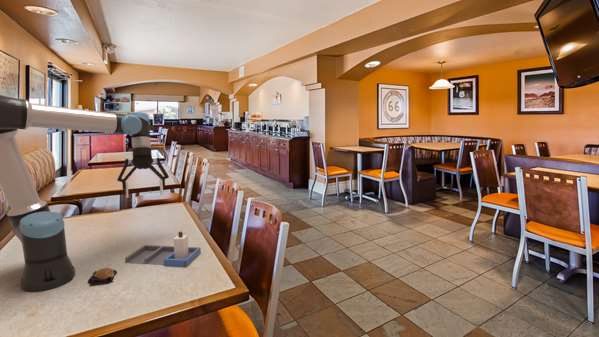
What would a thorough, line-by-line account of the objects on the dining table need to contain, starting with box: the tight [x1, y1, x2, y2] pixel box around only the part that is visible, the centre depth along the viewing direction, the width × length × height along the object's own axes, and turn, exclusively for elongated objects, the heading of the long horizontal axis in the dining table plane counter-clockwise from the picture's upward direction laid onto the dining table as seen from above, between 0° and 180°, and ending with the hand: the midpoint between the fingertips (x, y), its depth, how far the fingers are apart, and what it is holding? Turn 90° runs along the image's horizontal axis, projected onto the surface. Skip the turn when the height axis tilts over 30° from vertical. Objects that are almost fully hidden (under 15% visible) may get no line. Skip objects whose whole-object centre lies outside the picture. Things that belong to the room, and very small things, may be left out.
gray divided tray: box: [124, 244, 202, 268], centre depth 132 cm, size 14×25×3 cm, turn 83°
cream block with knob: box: [173, 231, 189, 259], centre depth 131 cm, size 4×4×11 cm
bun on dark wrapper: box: [87, 267, 118, 287], centre depth 116 cm, size 11×8×4 cm
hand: (145, 196), depth 142 cm, fingers open, 13 cm apart
